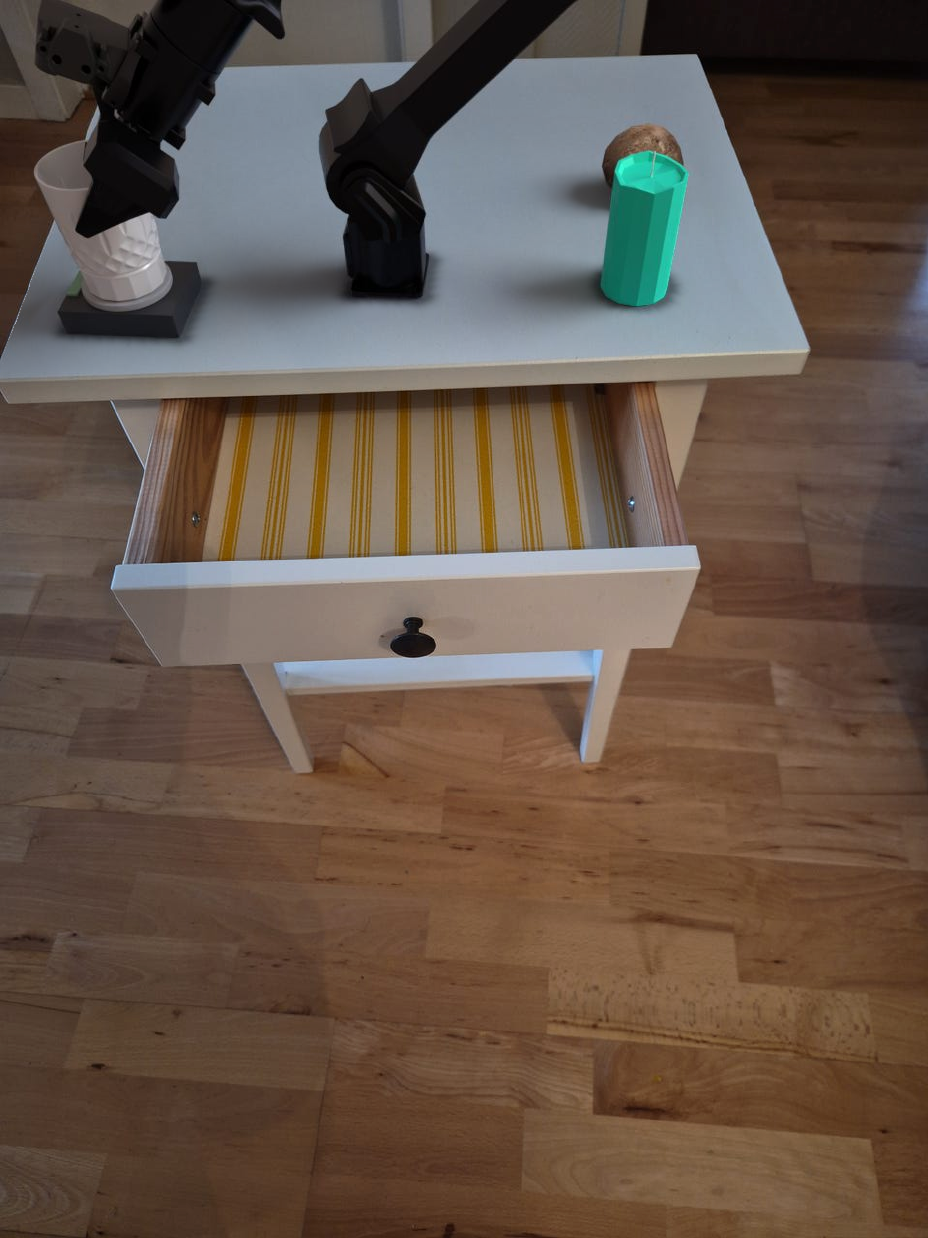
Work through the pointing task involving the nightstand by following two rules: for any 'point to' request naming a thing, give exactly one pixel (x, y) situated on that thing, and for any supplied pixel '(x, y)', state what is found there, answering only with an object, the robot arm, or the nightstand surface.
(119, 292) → the white cup
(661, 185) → the candle
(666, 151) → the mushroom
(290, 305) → the nightstand surface
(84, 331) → the scale
